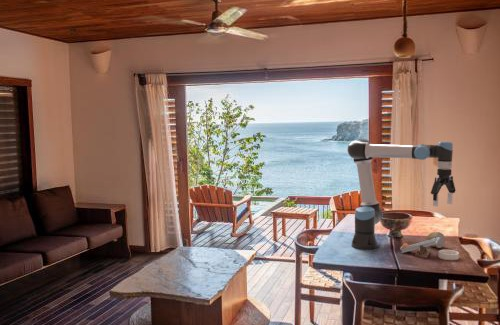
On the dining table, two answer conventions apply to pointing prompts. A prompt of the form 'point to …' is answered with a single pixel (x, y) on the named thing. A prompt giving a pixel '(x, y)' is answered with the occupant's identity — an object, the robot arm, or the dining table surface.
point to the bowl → (448, 254)
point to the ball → (405, 245)
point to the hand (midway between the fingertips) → (442, 204)
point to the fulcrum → (422, 252)
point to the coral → (436, 235)
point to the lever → (417, 245)
